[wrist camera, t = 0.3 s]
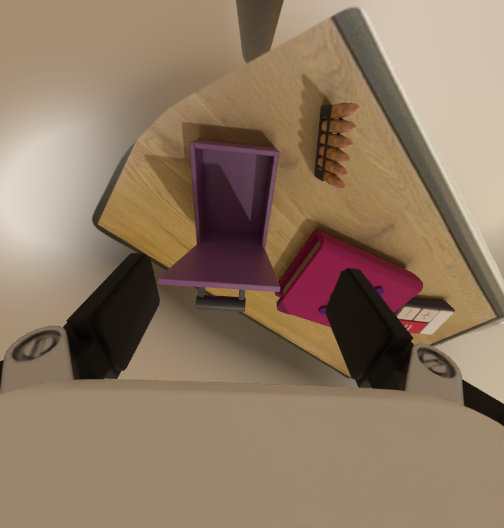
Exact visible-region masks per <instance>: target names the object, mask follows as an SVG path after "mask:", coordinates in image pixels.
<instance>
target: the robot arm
mask: <svg viewBox="0 0 504 528" xmlns="http://www.w3.org/2000/svg"><path fill="white" fill-rule="evenodd" d="M159 302H160V299H159V294H158V290H157V285H156V281H155V277H154V272H153V268H152V264H151V260H150V258H149V257H147V256H146V255H145V254H138V253H131V254H130V255H129V256H128V257H127V258H126V259H125V260H124V261H123V262H122V263H121V264H120V265H119V266H118V267H117V268H116V269H115V270H114V271H113V272H112V274H110V276H109V277H108V278H107V279H106V280H105V281H104V282H103V283H102V284H101V285H100V286H99V287H98V288H97V289H96V290H95V291H94V292H93V293H92V294H91V295H90V296H89V298H88V299H87V300H86V301H85V302H84V303H83V304H82V305H81V306H80V307H79V308H78V309H77V310H76V311H75V312H74V313H73V314H72V315H71V316H70V317H69V318H68V320H67V323H66V324H65V325H64V327H63V328H62V327H60V326H48V327H43V328H40V329H36V330H34V331H32V332H29V333H27V334H26V335H24V336H23V337H21V338H19V339H18V340H17V341H16V342H14V343H13V344H12V345H11V346H10V347H9V349H8V350H7V351H6V354H5V356H4V360H2V361H0V528H504V404H503V403H501V402H500V401H498V400H496V399H495V398H493V397H491V396H489V395H488V394H486V393H484V392H483V391H481V390H479V389H478V388H476V387H474V386H473V385H471V384H469V383H467V382H466V381H464V380H462V375H461V372H460V369H459V368H458V366H457V365H456V363H455V362H454V361H453V360H452V359H451V358H450V357H448V356H447V355H446V354H445V353H443V352H441V351H440V350H438V349H436V348H435V347H432V346H430V345H426V344H416V345H413V343H412V342H411V340H412V339H413V337H412V336H411V334H410V333H409V332H408V331H407V329H406V328H405V327H404V325H403V324H402V323H401V322H400V320H399V319H398V318H397V316H396V315H395V314H394V312H393V311H392V310H391V309H390V307H389V306H388V305H387V303H386V302H385V301H384V300H383V298H382V297H381V296H380V294H379V293H378V292H377V291H376V289H375V288H374V287H373V285H372V284H371V283H370V282H369V280H368V279H367V278H366V276H365V275H364V274H363V273H362V271H361V270H360V269H356V268H346V269H345V270H344V271H342V272H341V273H340V276H339V278H338V280H337V283H336V285H335V288H334V290H333V293H332V295H331V297H330V300H329V302H328V305H327V307H326V316H327V318H328V321H329V323H330V326H331V328H332V331H333V333H334V336H335V338H336V341H337V343H338V346H339V348H340V351H341V353H342V355H343V358H344V360H345V363H346V365H347V368H348V370H349V373H350V375H351V377H352V378H353V379H355V380H356V383H357V385H358V387H359V388H354V387H330V386H327V387H326V386H305V385H304V386H303V385H280V384H252V383H224V382H223V383H222V382H193V381H161V380H160V381H158V380H112V379H117V378H118V376H119V374H120V372H121V371H123V370H125V369H126V368H127V366H128V364H129V362H130V360H131V358H132V356H133V354H134V353H135V351H136V349H137V347H138V345H139V343H140V341H141V339H142V337H143V335H144V333H145V331H146V329H147V327H148V325H149V323H150V321H151V320H152V318H153V316H154V314H155V312H156V310H157V308H158V306H159ZM104 378H107V379H104ZM110 379H111V380H110ZM371 388H372V389H371Z"/></svg>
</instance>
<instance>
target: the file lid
mask: <svg viewBox="0 0 504 528" xmlns="http://www.w3.org/2000/svg"><path fill="white" fill-rule="evenodd" d="M158 284H164V285H180V286H195V287H198V295H197V298H196V309H204V310H221V311H237V312H245V300H246V298H245V290H257V291H272V292H280V284H279V282H278V280H277V277H276V275H275V273H274V270H273V268H272V265H271V263H270V261H269V258H268V256H267V254H266V251H265V250H260V249H247V248H234V247H221V246H208V245H196V246H195V247H193V248H192V249H191V250H190V251H189V252H188V253H187V254H185V255H184V256H183V257H182V258H181V259H180V260H179V261H177V262H176V263H175V264H174V265H173V266H172V267H171V268H169V269H168V270H167V271H166V272H165V273H164V274H163V275H161V277H159V278H158ZM205 287H211V288H226V289H239V297H229V296H213V295H205Z"/></svg>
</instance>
